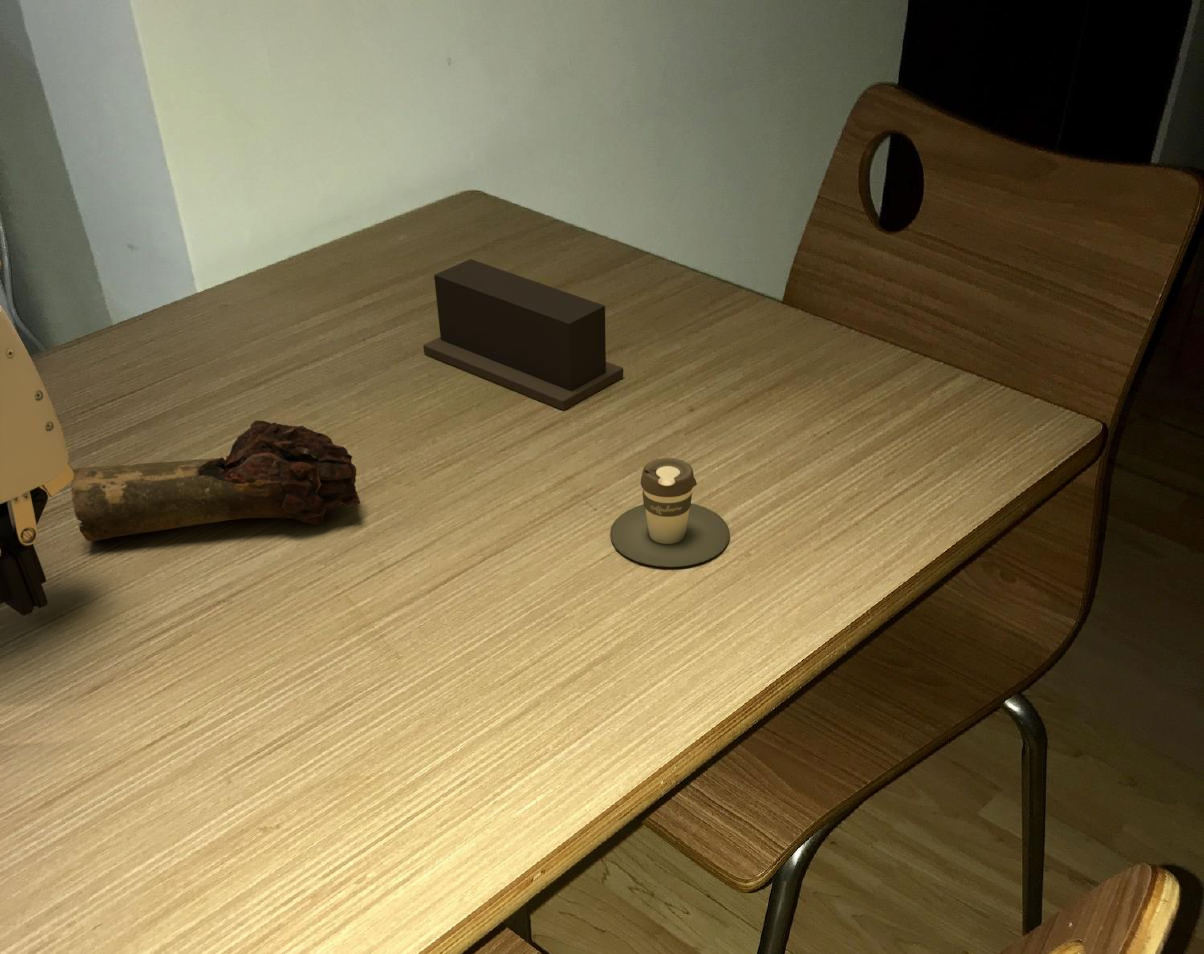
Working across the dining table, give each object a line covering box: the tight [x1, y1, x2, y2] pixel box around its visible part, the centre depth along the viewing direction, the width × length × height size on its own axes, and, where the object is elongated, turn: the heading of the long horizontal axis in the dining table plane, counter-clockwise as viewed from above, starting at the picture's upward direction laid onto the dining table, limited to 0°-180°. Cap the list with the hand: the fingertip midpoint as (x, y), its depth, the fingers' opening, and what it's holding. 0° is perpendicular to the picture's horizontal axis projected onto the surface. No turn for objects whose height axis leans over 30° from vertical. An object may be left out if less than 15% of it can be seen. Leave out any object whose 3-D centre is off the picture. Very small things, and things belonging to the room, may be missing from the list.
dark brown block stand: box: [422, 258, 624, 411], centre depth 99 cm, size 15×7×6 cm, turn 49°
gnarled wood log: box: [70, 420, 361, 542], centre depth 84 cm, size 18×7×6 cm, turn 97°
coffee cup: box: [609, 457, 731, 569], centre depth 82 cm, size 12×12×5 cm
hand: (23, 601), depth 77 cm, fingers closed
